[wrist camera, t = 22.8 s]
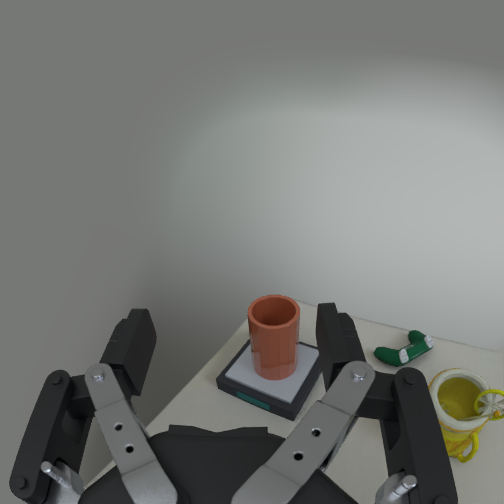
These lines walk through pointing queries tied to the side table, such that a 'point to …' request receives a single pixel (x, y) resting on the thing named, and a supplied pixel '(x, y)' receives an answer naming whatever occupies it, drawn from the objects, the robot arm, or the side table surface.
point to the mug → (463, 409)
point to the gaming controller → (405, 350)
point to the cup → (274, 336)
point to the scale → (272, 382)
